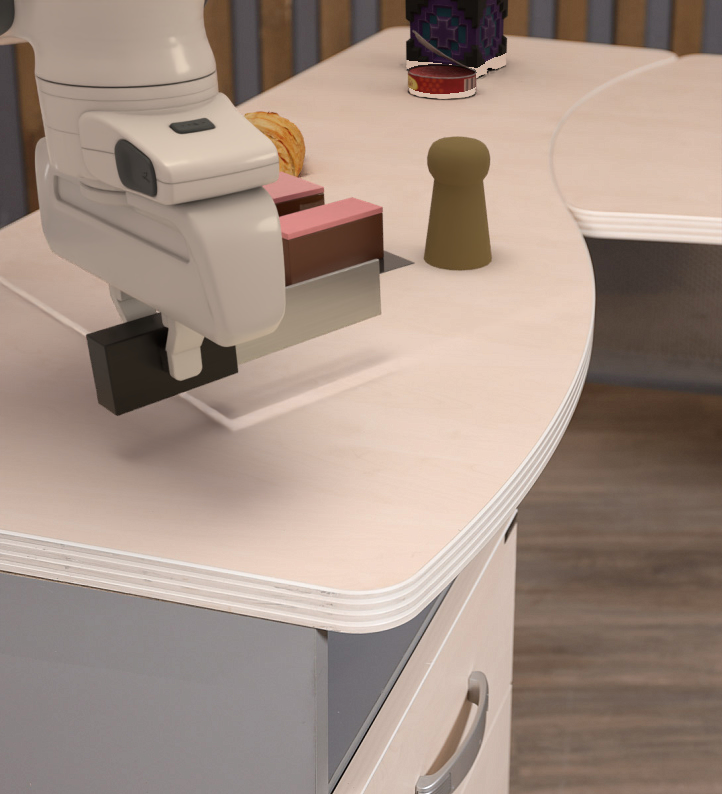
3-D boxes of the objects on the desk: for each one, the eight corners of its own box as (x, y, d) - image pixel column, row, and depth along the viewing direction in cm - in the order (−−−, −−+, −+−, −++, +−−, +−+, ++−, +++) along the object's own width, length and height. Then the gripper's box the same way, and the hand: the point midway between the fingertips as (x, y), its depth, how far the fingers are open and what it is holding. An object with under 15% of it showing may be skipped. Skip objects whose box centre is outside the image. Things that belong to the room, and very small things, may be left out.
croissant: (250, 243, 106) (282, 175, 103) (157, 190, 105) (186, 120, 101) (315, 179, 125) (343, 120, 121) (236, 133, 123) (263, 72, 120)
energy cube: (506, 65, 175) (508, -13, 170) (476, 78, 165) (478, -5, 160) (439, 58, 179) (439, -19, 173) (406, 70, 169) (405, -12, 163)
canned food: (420, 117, 161) (425, 50, 161) (484, 116, 158) (489, 48, 159) (390, 93, 150) (395, 22, 150) (458, 92, 148) (463, 20, 148)
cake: (164, 250, 94) (157, 191, 92) (289, 220, 103) (285, 164, 100) (288, 311, 83) (283, 245, 81) (415, 271, 92) (414, 211, 89)
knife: (369, 309, 75) (367, 249, 73) (390, 318, 74) (388, 257, 72) (97, 403, 62) (84, 333, 60) (116, 417, 61) (104, 346, 59)
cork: (484, 282, 90) (487, 151, 85) (414, 275, 91) (413, 145, 86) (499, 258, 96) (502, 133, 90) (432, 251, 96) (432, 127, 91)
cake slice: (261, 276, 87) (256, 222, 85) (354, 247, 94) (352, 196, 92) (291, 288, 85) (287, 234, 83) (384, 257, 92) (383, 206, 90)
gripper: (-11, 100, 61) (32, 326, 67) (184, 179, 49) (214, 445, 55) (95, 87, 65) (126, 300, 72) (299, 156, 53) (315, 405, 59)
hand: (166, 364), depth 63 cm, fingers closed on knife, 2 cm apart
